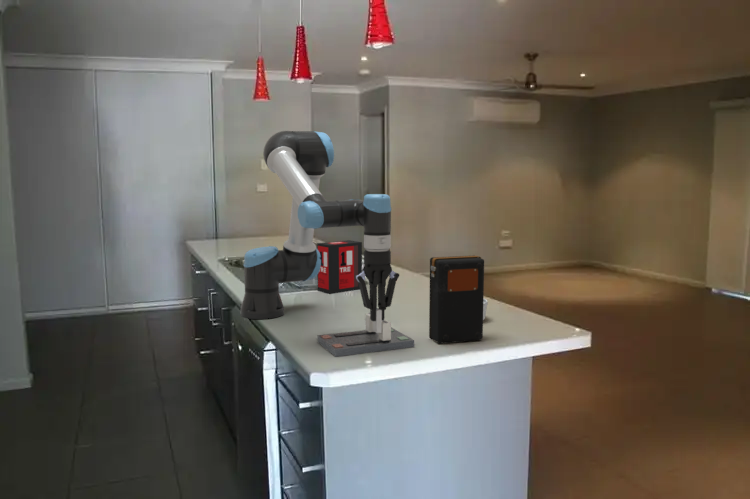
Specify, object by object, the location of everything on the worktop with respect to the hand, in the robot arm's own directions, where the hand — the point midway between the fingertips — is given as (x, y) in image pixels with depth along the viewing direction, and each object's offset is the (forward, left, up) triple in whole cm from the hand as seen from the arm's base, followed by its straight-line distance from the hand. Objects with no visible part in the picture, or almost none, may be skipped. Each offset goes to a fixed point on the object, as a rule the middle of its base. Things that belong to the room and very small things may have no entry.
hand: (377, 331), depth 180 cm
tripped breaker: (0, +2, -2) cm, 3 cm away
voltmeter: (+1, +25, -5) cm, 26 cm away
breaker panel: (-5, -2, -5) cm, 7 cm away
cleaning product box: (-85, +19, -5) cm, 87 cm away
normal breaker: (-10, +2, -2) cm, 11 cm away
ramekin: (-19, +41, -5) cm, 46 cm away
